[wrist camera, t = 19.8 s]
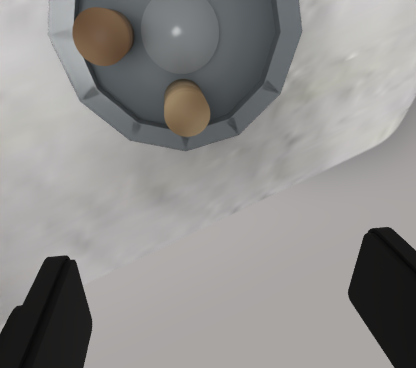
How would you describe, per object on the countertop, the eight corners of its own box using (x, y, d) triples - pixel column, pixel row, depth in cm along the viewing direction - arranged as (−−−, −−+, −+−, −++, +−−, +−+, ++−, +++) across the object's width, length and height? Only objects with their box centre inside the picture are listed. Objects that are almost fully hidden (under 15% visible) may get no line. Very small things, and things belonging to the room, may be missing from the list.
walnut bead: (116, 66, 30) (106, 77, 25) (80, 34, 28) (61, 38, 23) (143, 33, 29) (138, 37, 24) (107, -2, 27) (93, -7, 22)
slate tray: (186, 178, 38) (187, 189, 35) (3, 34, 28) (-11, 36, 26) (335, 29, 32) (349, 30, 30) (167, -215, 23) (168, -242, 20)
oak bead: (210, 97, 32) (219, 113, 27) (184, 125, 33) (188, 145, 28) (182, 70, 31) (186, 80, 25) (155, 99, 32) (154, 116, 26)
